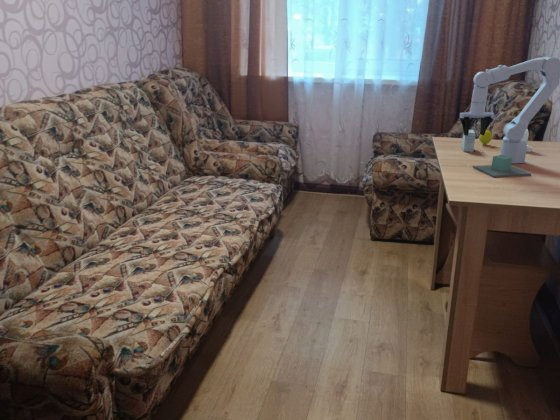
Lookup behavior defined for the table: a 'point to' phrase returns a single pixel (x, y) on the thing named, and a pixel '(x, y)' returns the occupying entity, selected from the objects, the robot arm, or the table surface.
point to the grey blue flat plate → (496, 173)
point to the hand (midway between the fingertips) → (473, 134)
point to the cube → (501, 163)
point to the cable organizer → (525, 138)
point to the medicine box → (468, 141)
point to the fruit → (486, 137)
